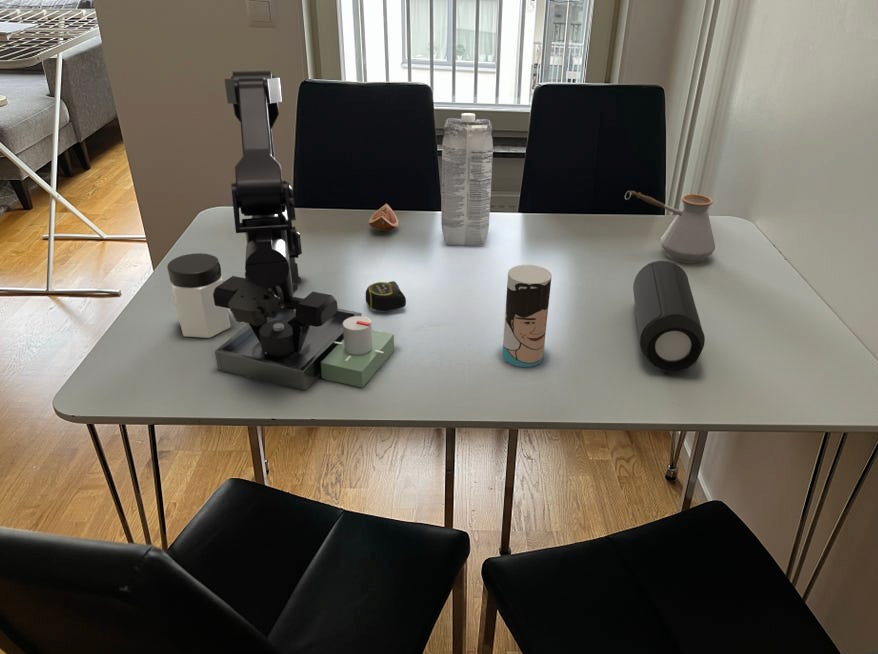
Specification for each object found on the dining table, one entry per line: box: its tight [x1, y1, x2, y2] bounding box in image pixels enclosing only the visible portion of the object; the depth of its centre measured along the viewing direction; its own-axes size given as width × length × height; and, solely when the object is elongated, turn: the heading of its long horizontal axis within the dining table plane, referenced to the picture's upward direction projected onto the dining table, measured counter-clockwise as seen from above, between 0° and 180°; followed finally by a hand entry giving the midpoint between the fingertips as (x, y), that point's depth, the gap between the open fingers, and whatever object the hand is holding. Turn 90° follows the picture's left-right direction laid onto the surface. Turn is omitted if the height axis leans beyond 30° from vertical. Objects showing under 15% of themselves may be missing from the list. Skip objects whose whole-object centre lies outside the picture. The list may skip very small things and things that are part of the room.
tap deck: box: [321, 329, 395, 389], centre depth 113 cm, size 9×12×3 cm
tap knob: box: [343, 315, 373, 355], centre depth 110 cm, size 4×4×5 cm
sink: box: [231, 308, 344, 368], centre depth 116 cm, size 14×18×2 cm
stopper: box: [259, 320, 295, 358], centre depth 112 cm, size 6×6×5 cm
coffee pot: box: [624, 190, 716, 264], centre depth 149 cm, size 21×12×15 cm, turn 97°
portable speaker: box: [632, 259, 706, 373], centre depth 121 cm, size 26×10×10 cm, turn 172°
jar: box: [166, 252, 231, 339], centre depth 119 cm, size 9×8×12 cm
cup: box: [501, 264, 553, 368], centre depth 113 cm, size 7×7×15 cm
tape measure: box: [365, 280, 407, 312], centre depth 129 cm, size 7×7×4 cm
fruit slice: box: [368, 203, 400, 232], centre depth 160 cm, size 8×7×5 cm
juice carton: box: [440, 112, 494, 247], centre depth 151 cm, size 9×10×27 cm
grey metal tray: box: [214, 308, 363, 391], centre depth 116 cm, size 16×20×4 cm
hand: (281, 347), depth 113 cm, fingers closed on stopper, 6 cm apart
